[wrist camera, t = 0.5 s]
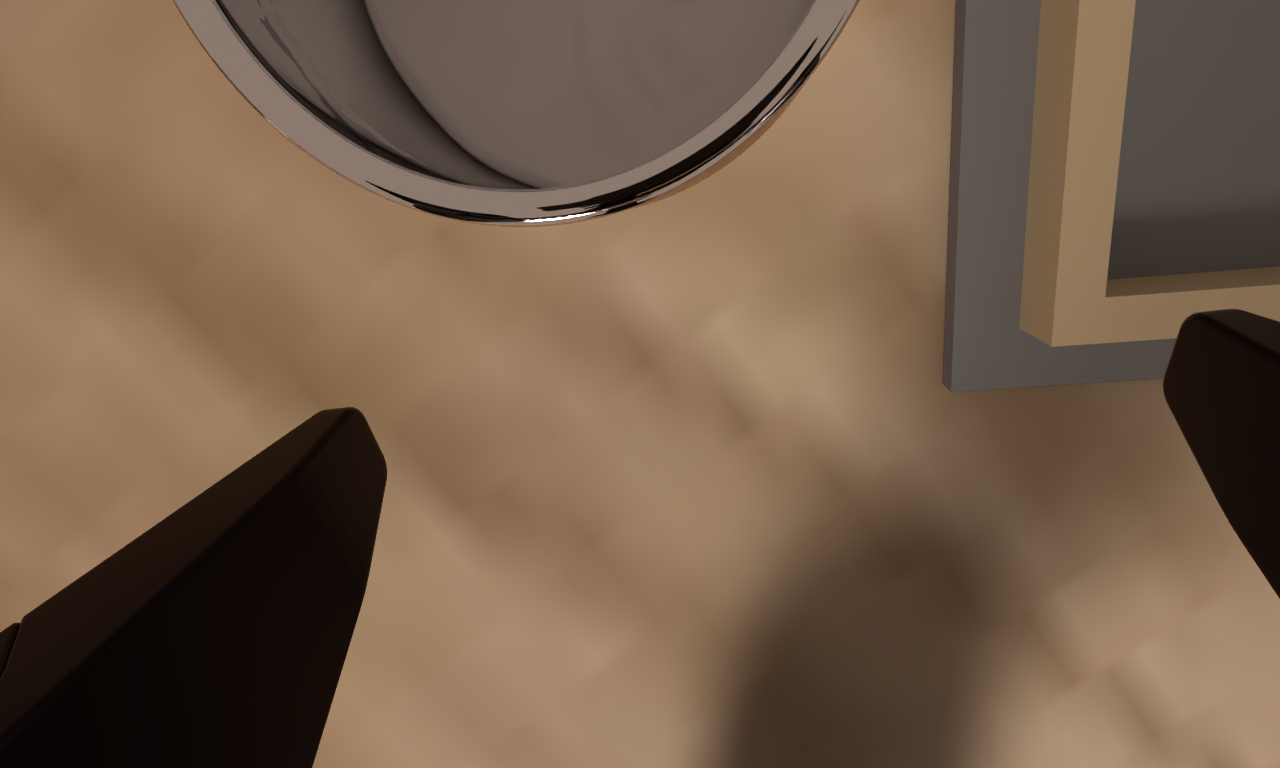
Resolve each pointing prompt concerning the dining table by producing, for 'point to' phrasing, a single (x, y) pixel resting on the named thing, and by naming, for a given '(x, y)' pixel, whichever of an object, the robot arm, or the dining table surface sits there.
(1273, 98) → the socket board
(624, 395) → the dining table surface
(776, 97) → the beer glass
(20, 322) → the dining table surface
